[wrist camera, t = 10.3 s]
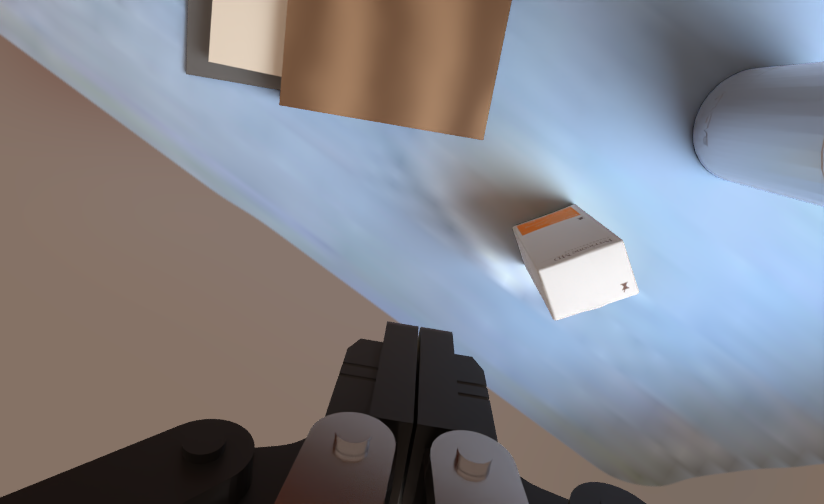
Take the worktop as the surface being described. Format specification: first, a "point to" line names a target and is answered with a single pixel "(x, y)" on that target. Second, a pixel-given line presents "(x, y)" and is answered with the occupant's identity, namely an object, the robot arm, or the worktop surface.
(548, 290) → the skincare box
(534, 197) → the worktop surface
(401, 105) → the brown flat block
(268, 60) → the cream rectangular block
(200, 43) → the mat
